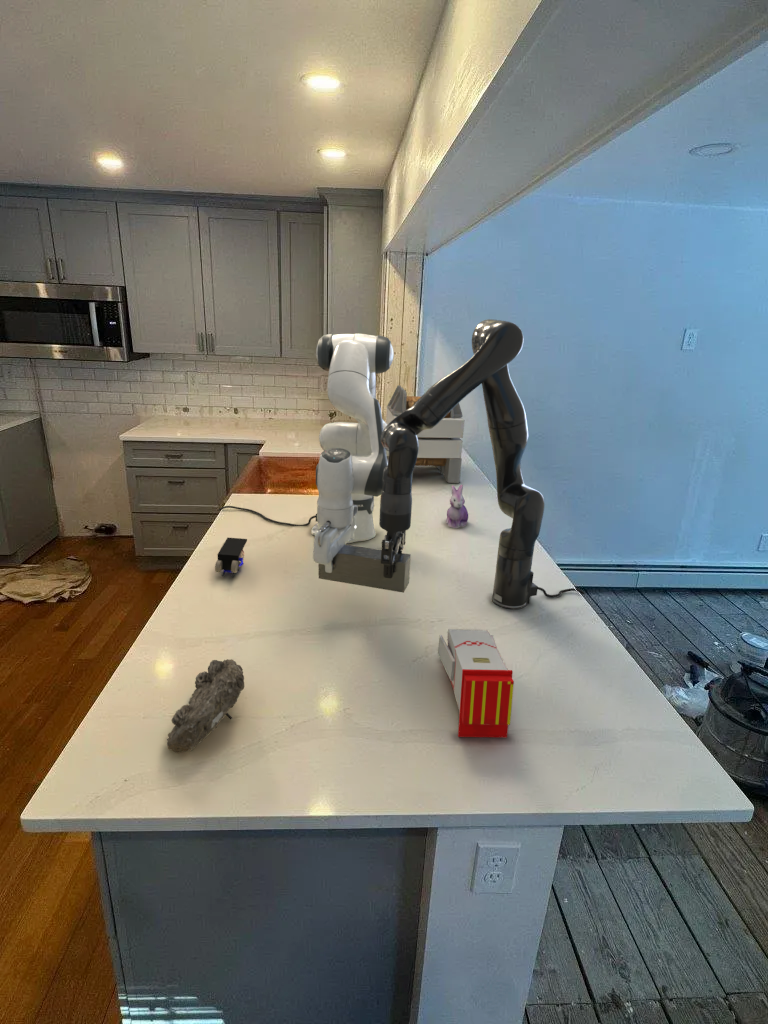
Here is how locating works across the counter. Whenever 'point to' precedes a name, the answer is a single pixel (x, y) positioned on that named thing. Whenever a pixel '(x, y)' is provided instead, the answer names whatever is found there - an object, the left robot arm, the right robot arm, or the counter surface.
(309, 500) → the counter surface
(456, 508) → the figurine
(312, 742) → the counter surface
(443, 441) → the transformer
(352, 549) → the bar
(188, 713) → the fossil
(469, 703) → the toy
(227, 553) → the figurine character
